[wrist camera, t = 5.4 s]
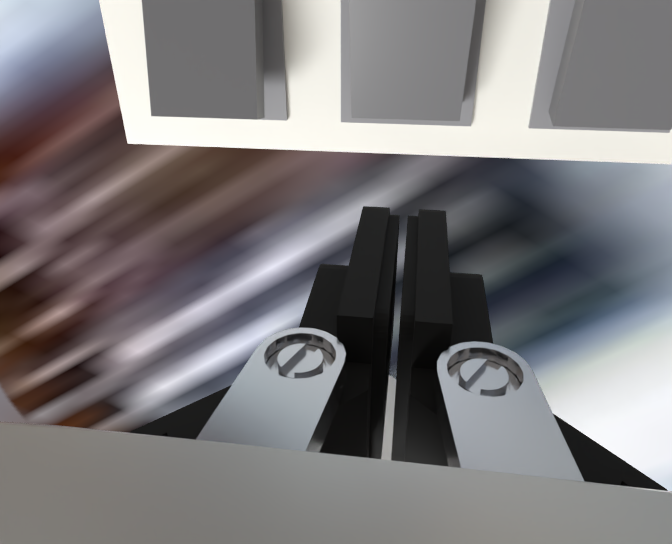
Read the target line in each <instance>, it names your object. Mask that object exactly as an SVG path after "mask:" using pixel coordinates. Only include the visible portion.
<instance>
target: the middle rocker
mask: <svg viewBox="0 0 672 544" xmlns="http://www.w3.org/2000/svg"><path fill="white" fill-rule="evenodd" d="M475 5H476V0H349V34H350V74H351V114H352V118H371V119H403V120H435V121H460V116H461V108H462V101H463V94H464V86H465V79H466V72H467V64H468V57H469V50H470V42H471V35H472V27H473V20H474V13H475Z"/></svg>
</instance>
